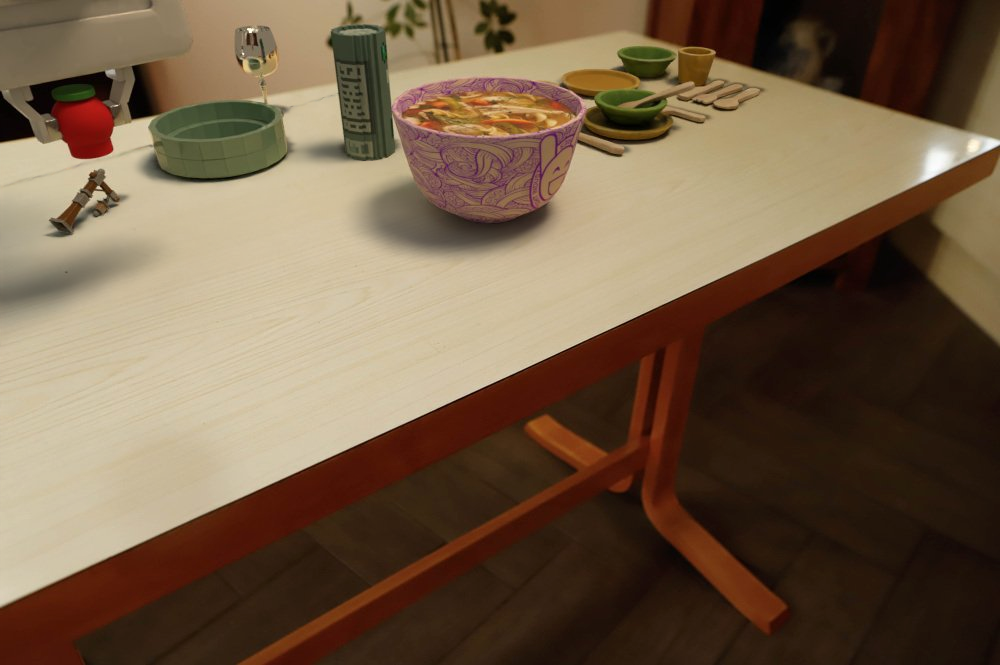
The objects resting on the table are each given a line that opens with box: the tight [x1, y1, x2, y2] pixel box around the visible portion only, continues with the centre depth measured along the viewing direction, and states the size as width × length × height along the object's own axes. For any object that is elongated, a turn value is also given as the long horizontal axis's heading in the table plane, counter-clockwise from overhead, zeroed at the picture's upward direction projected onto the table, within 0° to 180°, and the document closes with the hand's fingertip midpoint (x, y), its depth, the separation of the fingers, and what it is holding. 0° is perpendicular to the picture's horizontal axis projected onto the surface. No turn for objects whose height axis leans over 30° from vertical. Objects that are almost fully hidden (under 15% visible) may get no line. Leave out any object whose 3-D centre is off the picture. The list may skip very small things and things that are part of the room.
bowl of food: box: [391, 76, 588, 224], centre depth 77 cm, size 20×20×12 cm
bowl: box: [147, 99, 288, 179], centre depth 91 cm, size 16×16×5 cm
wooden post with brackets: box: [48, 168, 121, 235], centre depth 77 cm, size 2×8×4 cm, turn 160°
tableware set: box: [534, 45, 761, 155], centre depth 110 cm, size 41×28×6 cm
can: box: [330, 23, 396, 161], centre depth 90 cm, size 6×6×15 cm
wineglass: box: [234, 25, 285, 118], centre depth 102 cm, size 6×6×12 cm
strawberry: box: [50, 83, 115, 160], centre depth 58 cm, size 4×4×5 cm
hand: (85, 131), depth 59 cm, fingers closed on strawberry, 4 cm apart
